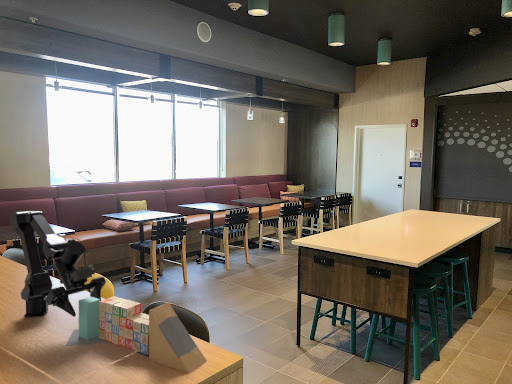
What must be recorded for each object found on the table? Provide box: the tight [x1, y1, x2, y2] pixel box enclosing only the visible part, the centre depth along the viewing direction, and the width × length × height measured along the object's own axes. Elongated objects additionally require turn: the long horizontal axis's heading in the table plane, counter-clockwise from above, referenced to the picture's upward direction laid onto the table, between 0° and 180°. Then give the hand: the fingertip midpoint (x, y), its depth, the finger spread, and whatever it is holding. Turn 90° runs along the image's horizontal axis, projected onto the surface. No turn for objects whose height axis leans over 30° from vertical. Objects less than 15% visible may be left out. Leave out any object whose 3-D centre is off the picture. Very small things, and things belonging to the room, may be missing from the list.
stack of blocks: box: [99, 295, 149, 356], centre depth 125 cm, size 21×6×12 cm, turn 61°
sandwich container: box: [148, 302, 208, 374], centre depth 115 cm, size 9×15×15 cm, turn 61°
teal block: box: [78, 296, 100, 340], centre depth 128 cm, size 5×5×12 cm
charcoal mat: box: [65, 328, 108, 347], centre depth 129 cm, size 12×12×1 cm
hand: (88, 311), depth 129 cm, fingers open, 9 cm apart
